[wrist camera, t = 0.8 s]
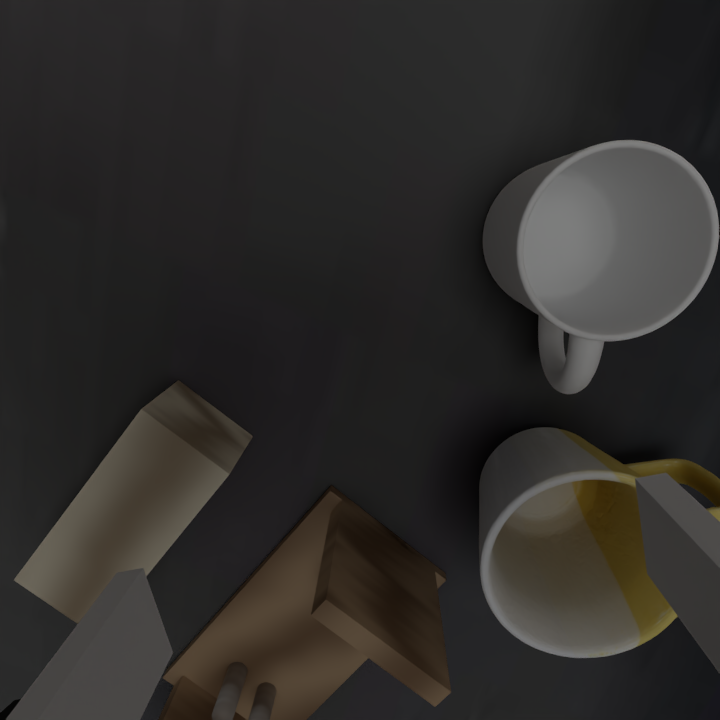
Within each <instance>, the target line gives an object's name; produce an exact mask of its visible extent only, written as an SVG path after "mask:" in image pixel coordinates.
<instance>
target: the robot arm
mask: <svg viewBox="0 0 720 720" xmlns="http://www.w3.org/2000/svg"><path fill="white" fill-rule="evenodd" d="M635 483H636V491H637V498H638V506H639V514H640V522H641V530H642V538H643V545H644V553H645V561H646V569H647V574H648V576H649V577H650V578H651V580H652V581H653V583H654V584H655V585H656V587H657V588H658V589H659V591H660V592H661V594H662V595H663V596H664V598H665V599H666V600H667V602H668V603H669V605H670V606H671V607H672V609H673V610H674V611H675V613H676V614H677V616H678V617H679V618H680V620H681V621H682V622H683V624H684V625H685V627H686V628H687V629H688V631H689V632H690V633H691V635H692V636H693V638H694V639H695V640H696V642H697V643H698V644H699V646H700V647H701V649H702V650H703V651H704V653H705V654H706V655H707V657H708V658H709V660H710V661H711V662H712V664H713V665H714V666H715V668H716V669H717V671H718V672H719V673H720V522H719V521H718V520H717V519H716V518H715V517H714V516H713V515H712V514H711V513H710V512H708V511H707V510H706V509H705V508H704V507H703V506H702V505H701V504H700V503H699V502H698V501H696V500H695V499H694V498H693V497H692V496H691V495H690V494H689V493H688V492H687V491H686V490H685V489H683V488H682V487H681V486H680V485H679V484H678V483H677V482H676V481H675V480H674V479H673V478H671V477H670V476H669V475H668V474H667V473H662V474H656V475H651V476H645V477H640V478H635ZM172 653H173V652H172V649H171V646H170V643H169V640H168V637H167V635H166V632H165V629H164V626H163V623H162V620H161V617H160V615H159V612H158V609H157V606H156V603H155V600H154V598H153V595H152V592H151V589H150V586H149V583H148V580H147V578H146V575H145V572H144V569H143V568H140V569H134V570H129V571H123V572H118V573H116V574H115V576H114V577H113V578H112V580H111V581H110V582H109V584H108V585H107V586H106V588H105V589H104V590H103V592H102V593H101V594H100V596H99V597H98V598H97V600H96V601H95V602H94V603H93V605H92V606H91V607H90V609H89V610H88V611H87V613H86V614H85V615H84V617H83V618H82V619H81V621H80V622H79V623H78V625H77V626H76V627H75V629H74V630H73V631H72V633H71V634H70V635H69V637H68V638H67V639H66V640H65V642H64V643H63V644H62V646H61V647H60V648H59V650H58V651H57V652H56V654H55V655H54V656H53V658H52V659H51V660H50V662H49V663H48V664H47V666H46V667H45V668H44V670H43V671H42V672H41V674H40V675H39V676H38V677H37V679H36V680H35V681H34V683H33V684H32V685H31V687H30V688H29V689H28V691H27V692H26V693H25V695H24V696H23V697H22V699H19V700H14V701H13V702H12V703H11V704H10V705H9V706H8V707H6V708H5V709H4V710H3V711H2V712H1V713H0V720H140V719H141V717H142V715H143V713H144V711H145V709H146V706H147V704H148V702H149V700H150V698H151V696H152V694H153V692H154V690H155V688H156V686H157V684H158V682H159V680H160V678H161V676H162V674H163V672H164V670H165V668H166V666H167V664H168V662H169V660H170V657H171V655H172Z"/></svg>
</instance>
